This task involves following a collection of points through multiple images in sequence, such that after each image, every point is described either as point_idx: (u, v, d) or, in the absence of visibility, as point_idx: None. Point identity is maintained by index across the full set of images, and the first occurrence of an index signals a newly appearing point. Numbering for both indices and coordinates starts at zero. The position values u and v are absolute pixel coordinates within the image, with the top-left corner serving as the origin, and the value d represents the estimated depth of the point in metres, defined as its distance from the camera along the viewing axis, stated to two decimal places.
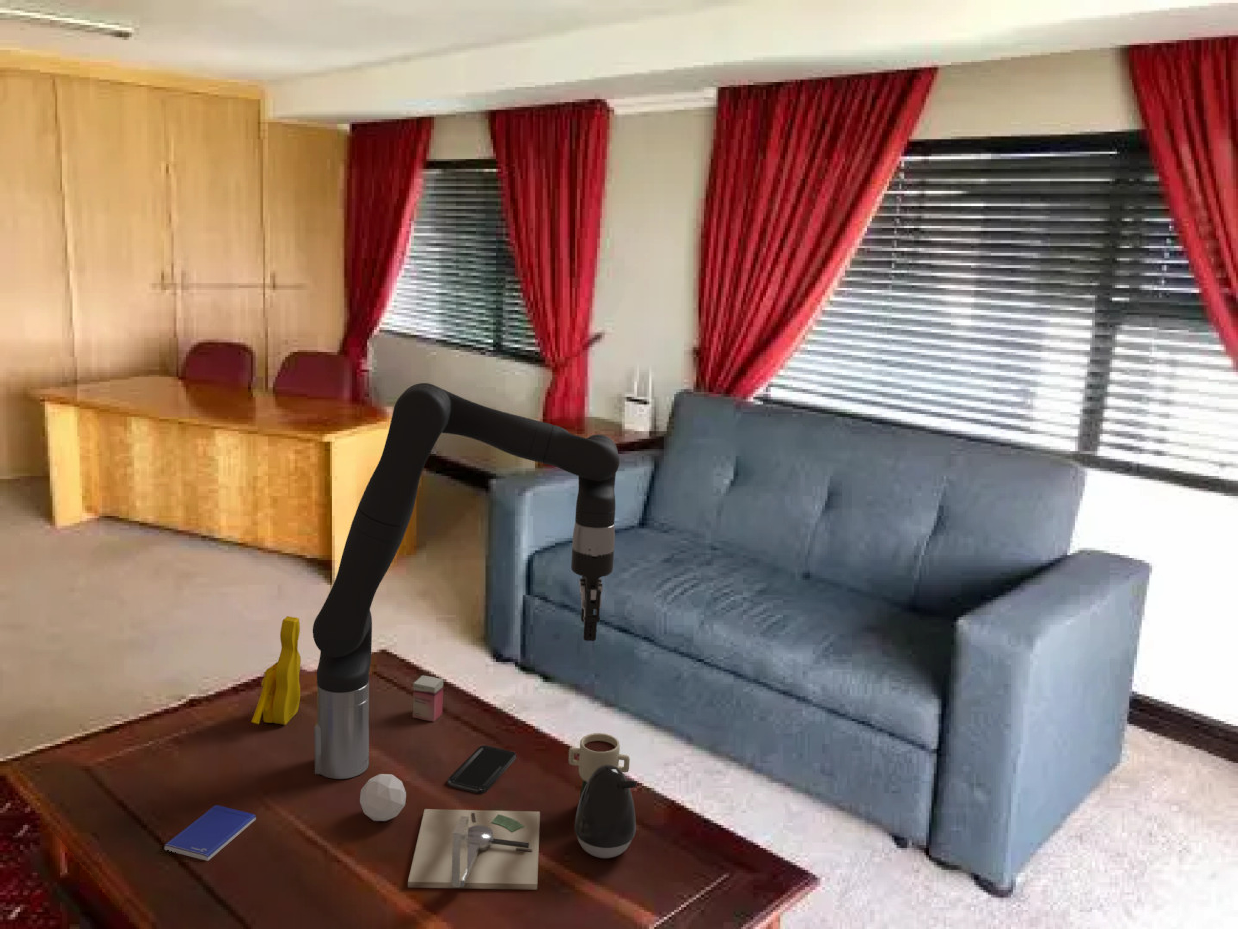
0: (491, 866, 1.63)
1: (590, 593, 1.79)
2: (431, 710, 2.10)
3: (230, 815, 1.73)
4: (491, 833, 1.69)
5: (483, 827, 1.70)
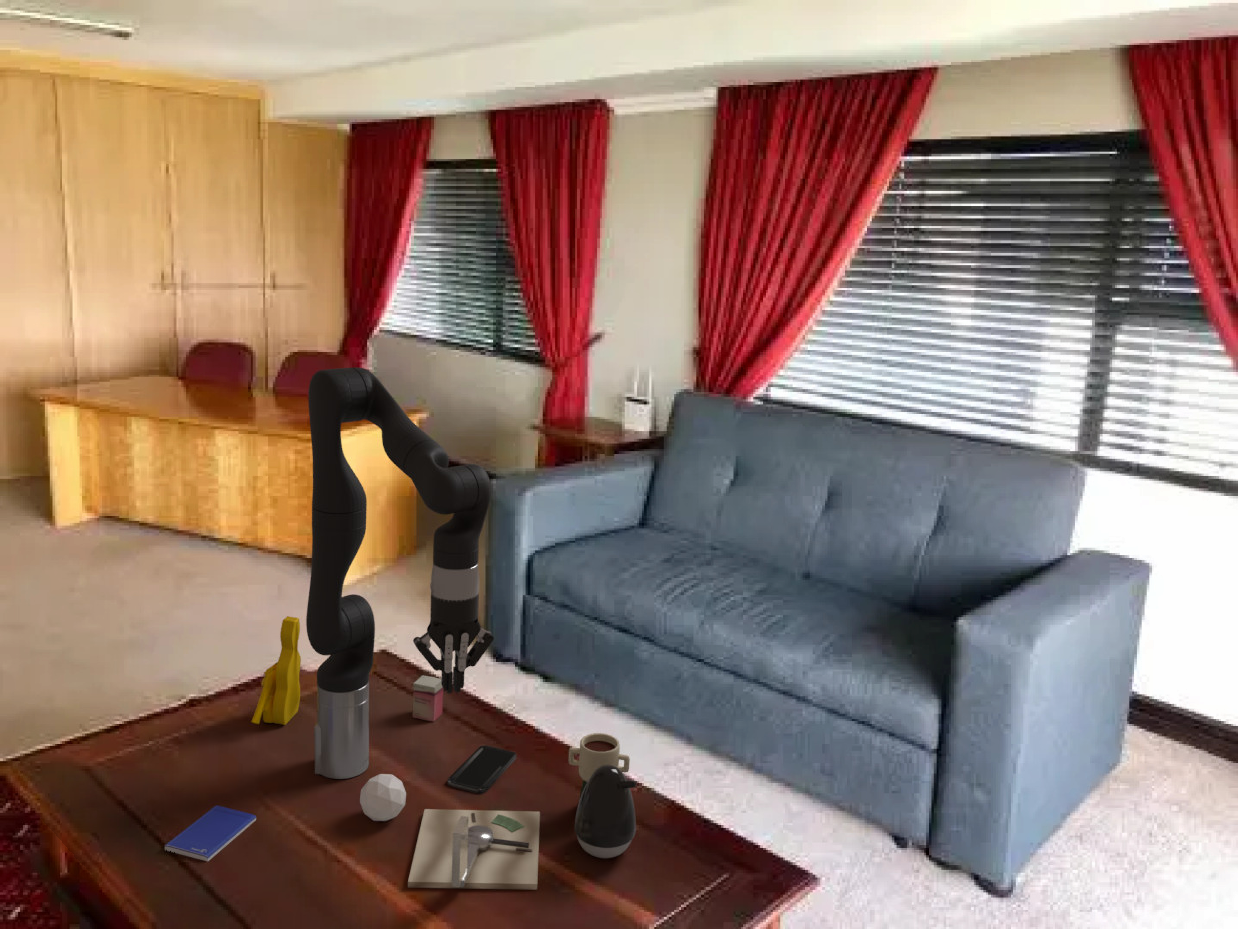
0: (491, 866, 1.63)
1: None
2: (431, 710, 2.10)
3: (230, 815, 1.73)
4: (491, 833, 1.69)
5: (483, 827, 1.70)
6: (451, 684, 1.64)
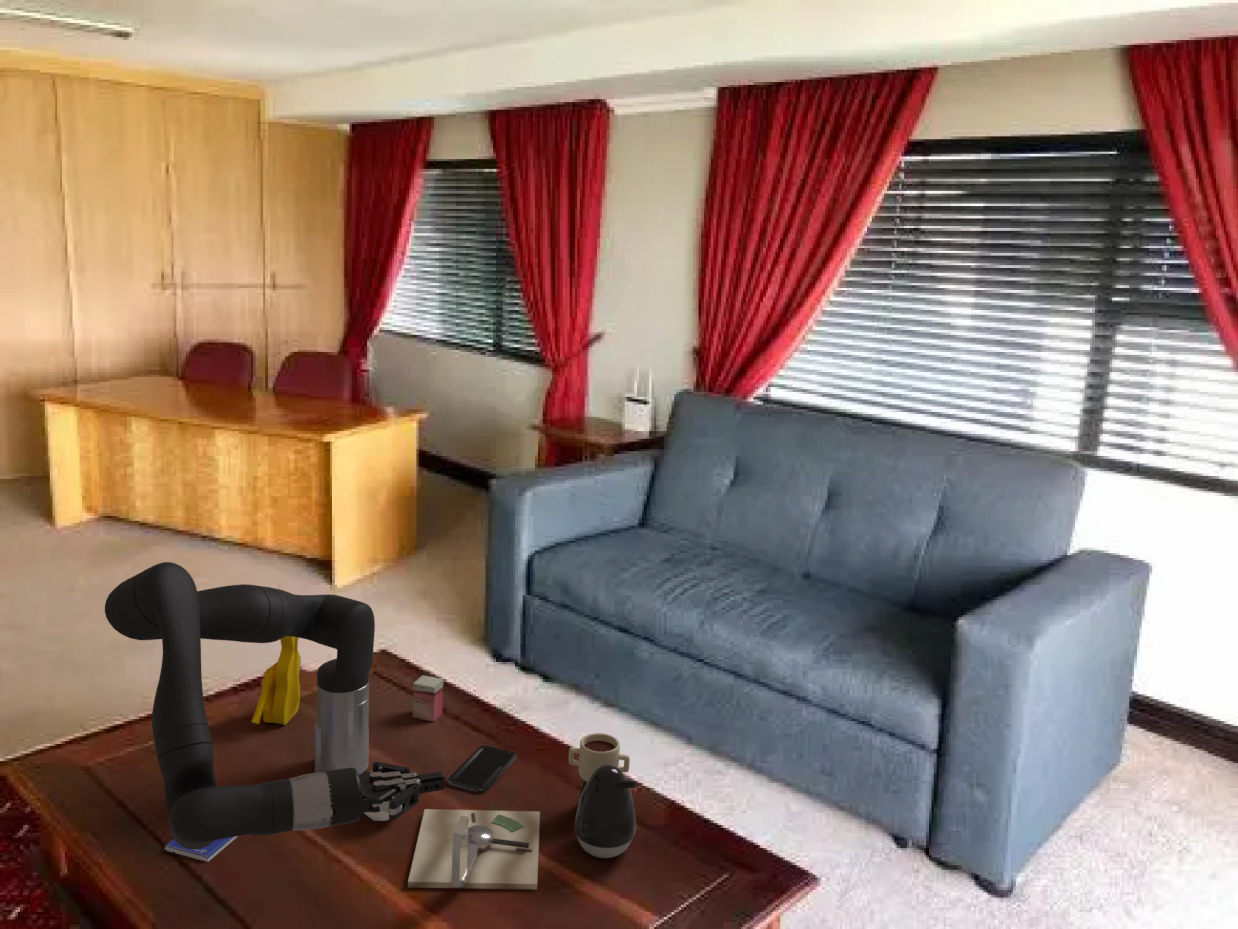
0: (491, 866, 1.63)
1: (396, 813, 1.43)
2: (431, 710, 2.10)
3: None
4: (491, 833, 1.69)
5: (483, 827, 1.70)
6: None
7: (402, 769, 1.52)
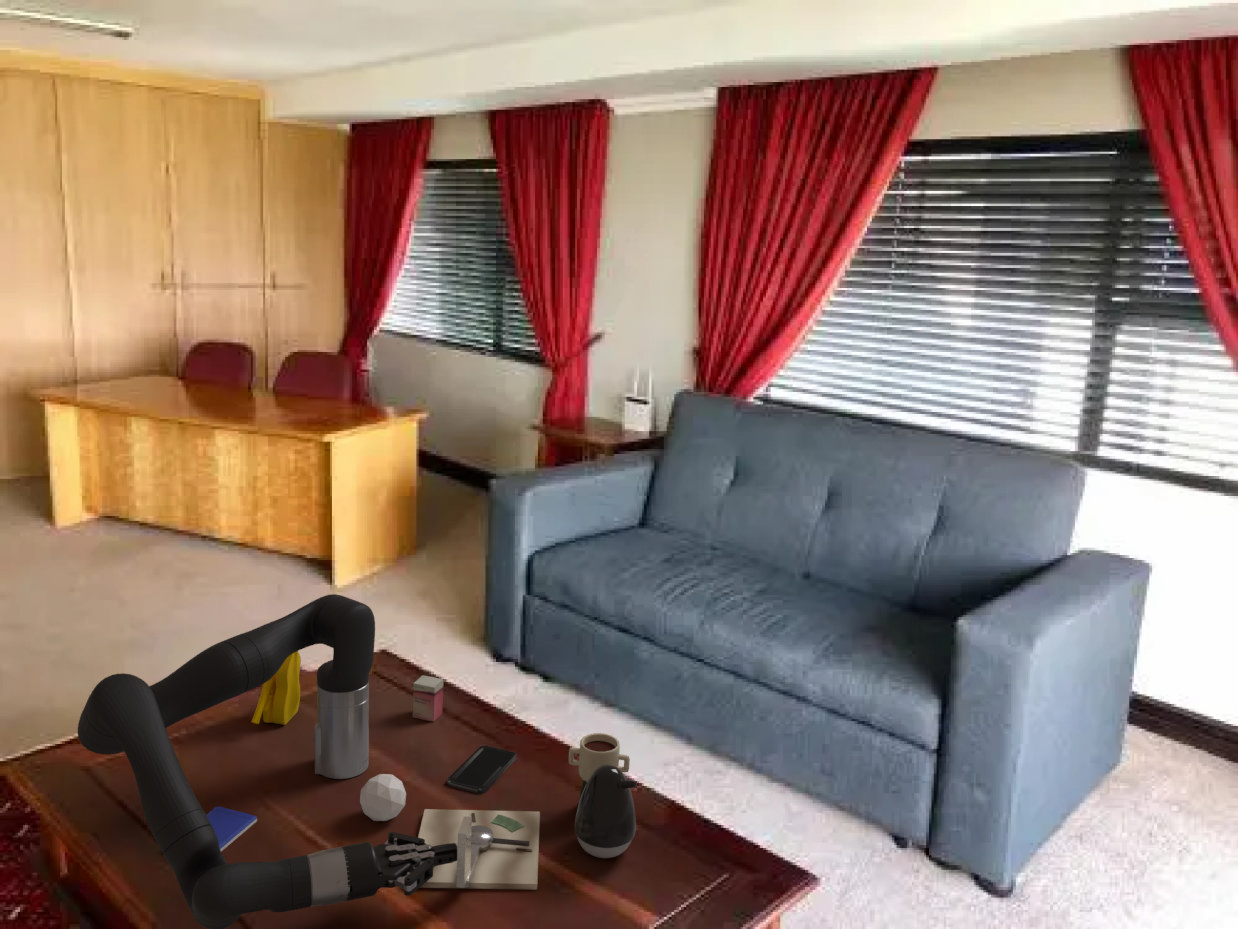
0: (491, 866, 1.63)
1: (411, 889, 1.47)
2: (431, 710, 2.10)
3: (231, 816, 1.72)
4: (491, 832, 1.69)
5: (482, 827, 1.70)
6: None
7: (417, 841, 1.55)
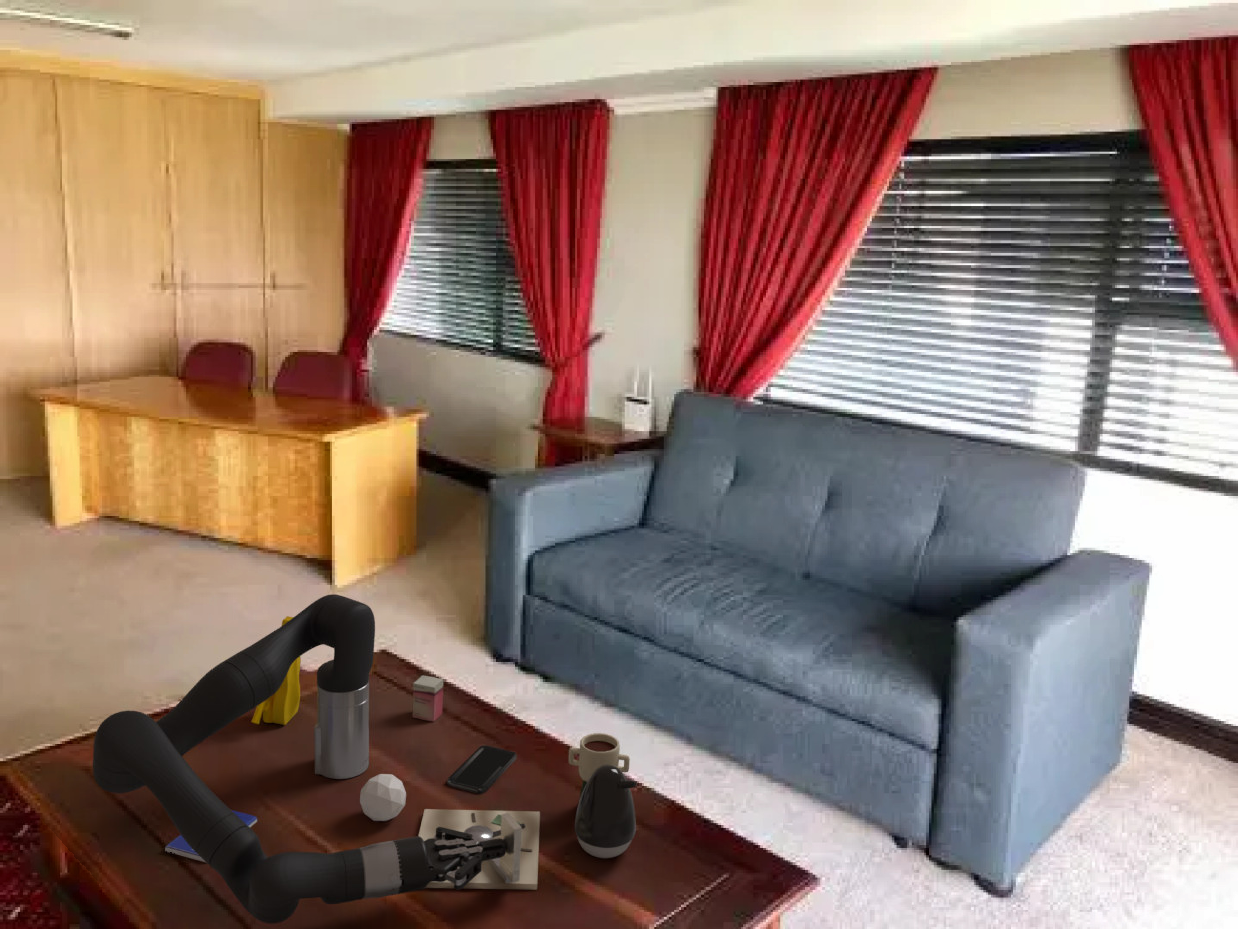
0: (491, 866, 1.63)
1: (461, 884, 1.50)
2: (431, 710, 2.10)
3: None
4: (488, 828, 1.70)
5: (475, 827, 1.70)
6: None
7: (465, 836, 1.58)
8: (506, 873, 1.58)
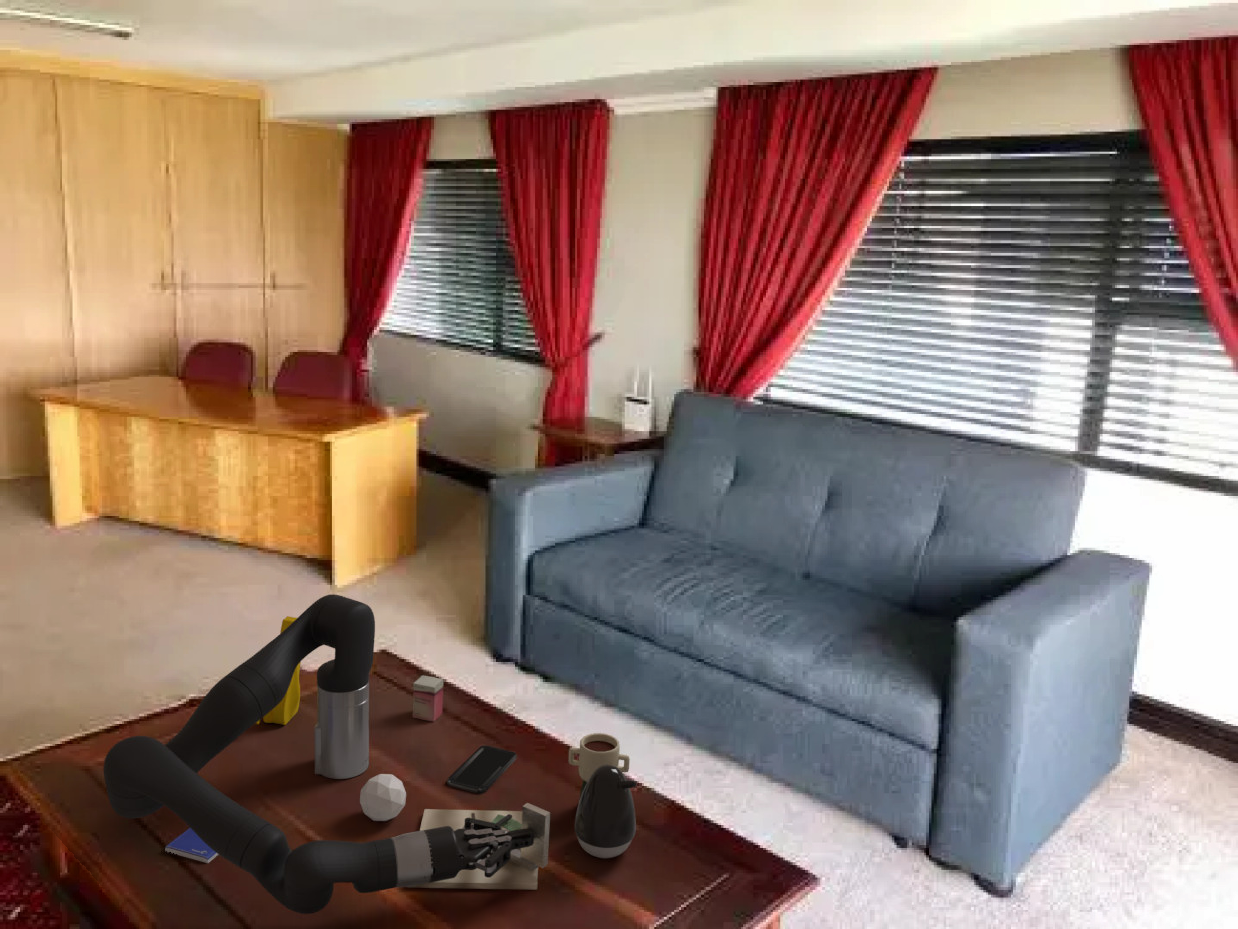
0: None
1: (492, 871, 1.52)
2: (431, 710, 2.10)
3: None
4: None
5: None
6: None
7: (493, 826, 1.60)
8: (532, 861, 1.62)
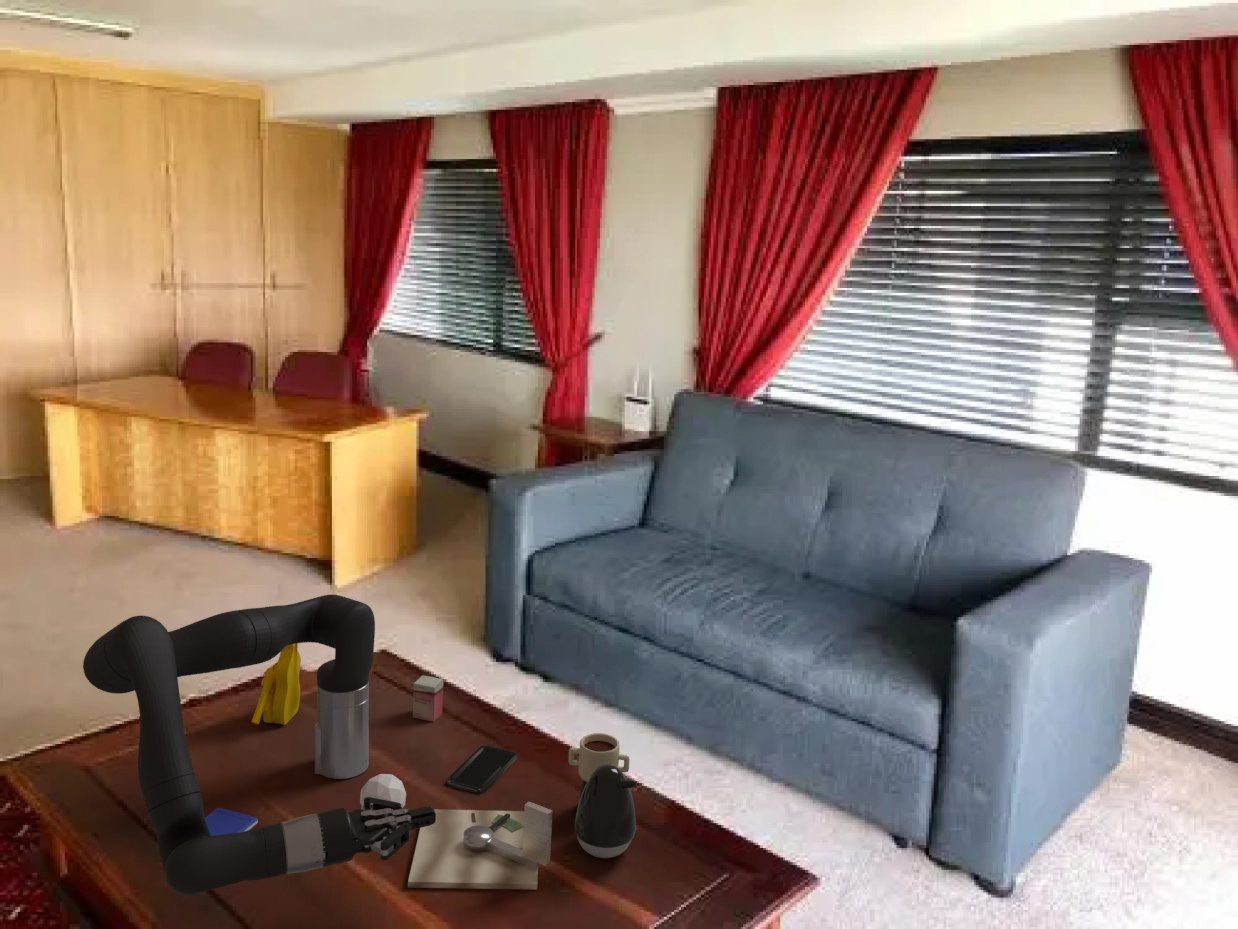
0: (491, 866, 1.63)
1: (388, 854, 1.46)
2: (431, 710, 2.10)
3: (232, 818, 1.72)
4: (482, 826, 1.70)
5: (470, 828, 1.70)
6: None
7: (393, 805, 1.54)
8: (534, 859, 1.62)
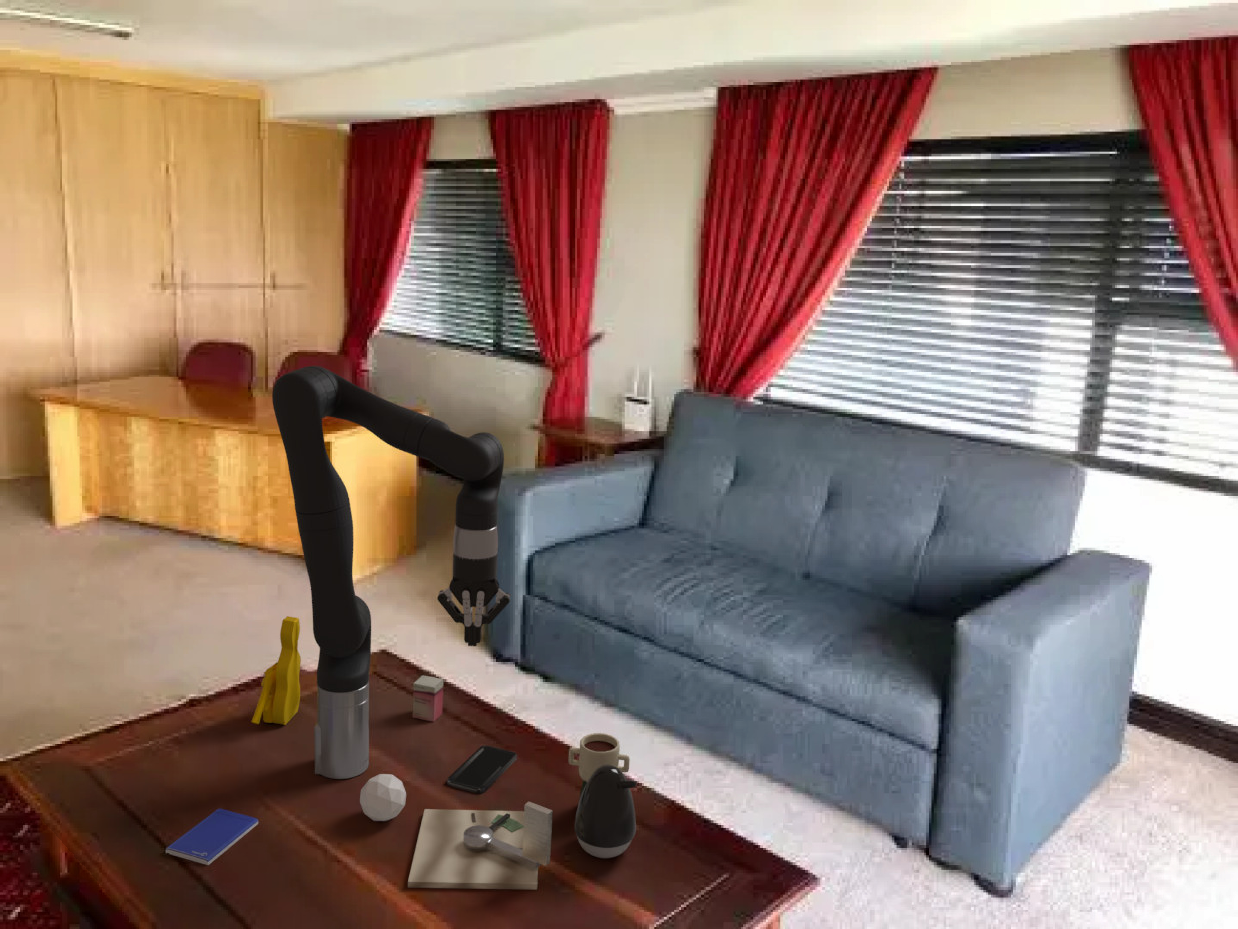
0: (491, 866, 1.63)
1: None
2: (431, 710, 2.10)
3: (232, 819, 1.72)
4: (482, 826, 1.70)
5: (470, 828, 1.70)
6: (471, 637, 1.77)
7: None
8: (534, 859, 1.62)
